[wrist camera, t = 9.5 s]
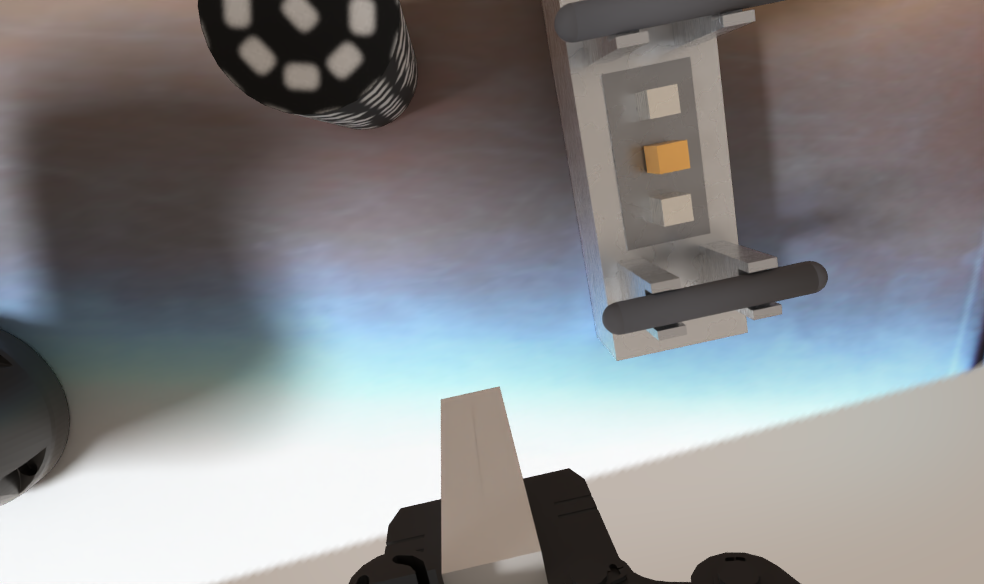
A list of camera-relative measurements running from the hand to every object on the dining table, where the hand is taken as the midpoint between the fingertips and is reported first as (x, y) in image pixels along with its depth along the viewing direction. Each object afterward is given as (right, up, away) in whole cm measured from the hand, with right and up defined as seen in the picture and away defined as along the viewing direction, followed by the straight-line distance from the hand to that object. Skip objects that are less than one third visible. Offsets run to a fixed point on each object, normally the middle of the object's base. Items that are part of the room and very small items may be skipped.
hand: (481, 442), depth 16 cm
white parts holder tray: (+11, +14, +33) cm, 38 cm away
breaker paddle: (+12, +13, +27) cm, 32 cm away
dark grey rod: (+10, +20, +19) cm, 30 cm away
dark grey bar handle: (+14, +4, +23) cm, 27 cm away
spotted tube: (-9, +20, +30) cm, 37 cm away
